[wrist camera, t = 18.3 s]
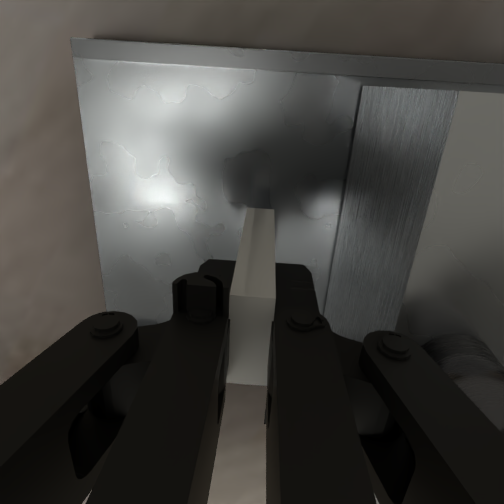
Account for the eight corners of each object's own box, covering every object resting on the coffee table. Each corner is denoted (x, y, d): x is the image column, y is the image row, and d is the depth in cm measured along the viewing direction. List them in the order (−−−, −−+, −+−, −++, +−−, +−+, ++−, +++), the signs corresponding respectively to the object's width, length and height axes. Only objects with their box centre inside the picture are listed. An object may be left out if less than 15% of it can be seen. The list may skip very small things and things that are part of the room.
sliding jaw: (318, 345, 19) (356, 595, 10) (362, 85, 14) (533, 95, 4) (390, 351, 18) (497, 611, 9) (462, 91, 13) (844, 114, 4)
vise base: (121, 321, 21) (12, 487, 12) (89, 41, 15) (-162, -12, 6) (587, 362, 20) (817, 572, 12) (749, 82, 14) (1469, 83, 6)
